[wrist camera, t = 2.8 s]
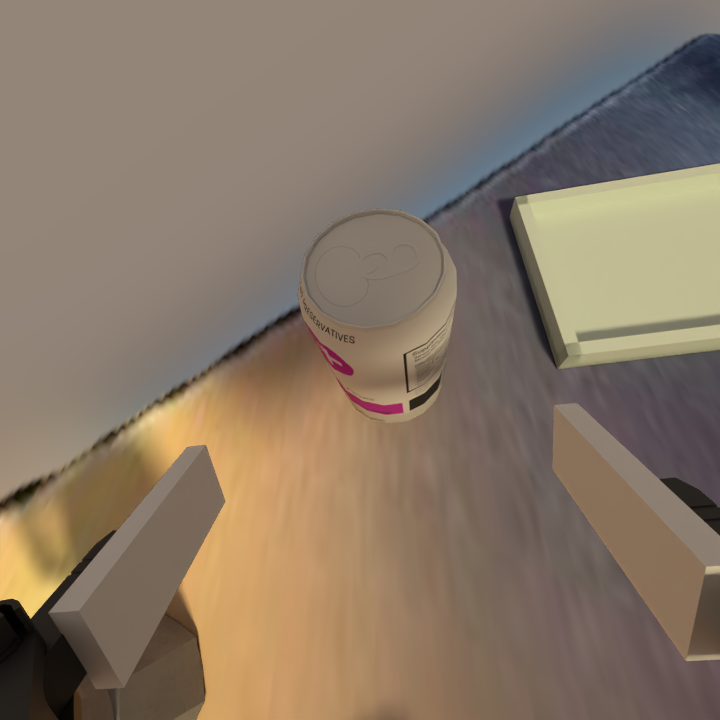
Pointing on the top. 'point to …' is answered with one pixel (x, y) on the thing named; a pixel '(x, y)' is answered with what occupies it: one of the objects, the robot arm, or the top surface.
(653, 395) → the top surface
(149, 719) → the coffeepot
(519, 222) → the tray
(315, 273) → the supplement can
